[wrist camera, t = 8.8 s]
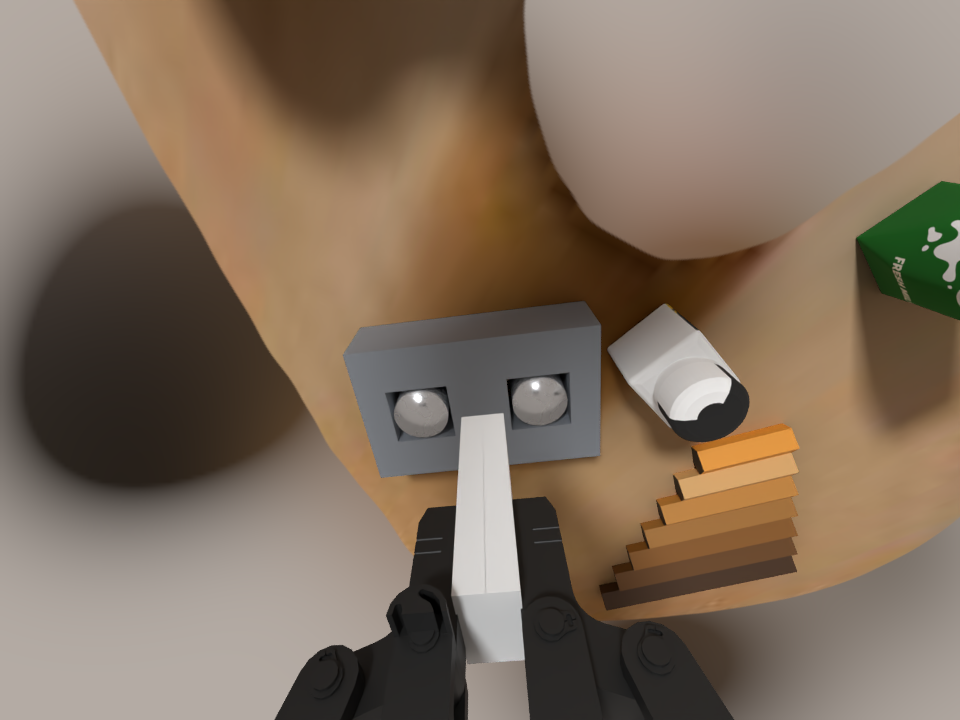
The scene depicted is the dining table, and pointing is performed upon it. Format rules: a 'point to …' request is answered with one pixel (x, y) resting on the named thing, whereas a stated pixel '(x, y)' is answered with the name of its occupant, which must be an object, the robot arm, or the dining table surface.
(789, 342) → the dining table surface
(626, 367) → the medicine bottle
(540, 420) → the steel peg
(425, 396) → the steel peg
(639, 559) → the pan flute
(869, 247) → the milk carton
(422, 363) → the peg block
